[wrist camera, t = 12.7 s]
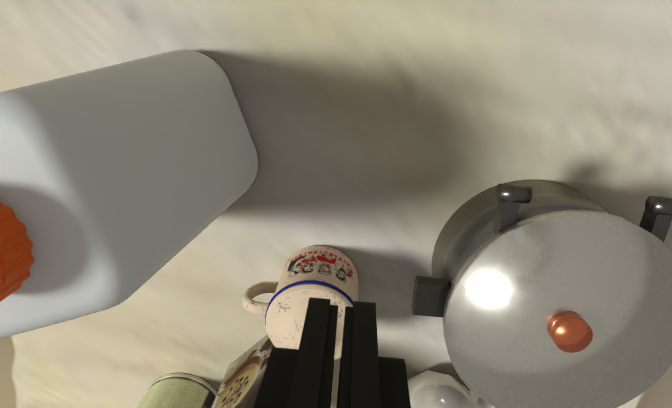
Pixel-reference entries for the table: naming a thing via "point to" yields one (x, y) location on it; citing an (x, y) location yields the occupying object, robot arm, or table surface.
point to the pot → (499, 213)
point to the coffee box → (244, 377)
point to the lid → (562, 313)
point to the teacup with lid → (305, 294)
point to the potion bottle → (441, 392)
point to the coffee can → (179, 392)
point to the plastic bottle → (112, 181)
